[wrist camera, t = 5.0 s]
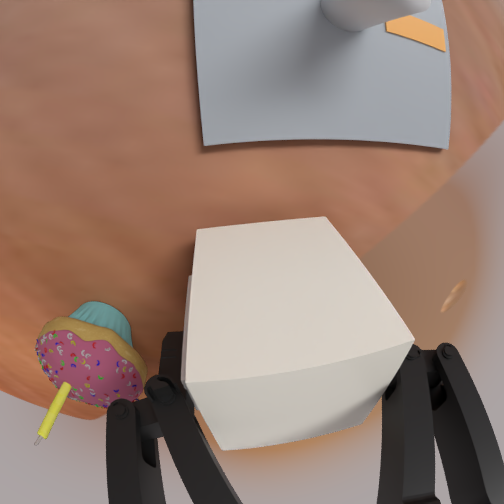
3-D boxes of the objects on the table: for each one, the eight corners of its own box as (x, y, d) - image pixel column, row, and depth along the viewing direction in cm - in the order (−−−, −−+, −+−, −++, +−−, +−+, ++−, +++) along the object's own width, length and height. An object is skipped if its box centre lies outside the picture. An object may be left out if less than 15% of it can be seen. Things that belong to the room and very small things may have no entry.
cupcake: (50, 320, 19) (5, 435, 8) (77, 258, 16) (-2, 410, 6) (129, 366, 22) (111, 483, 12) (175, 321, 20) (162, 479, 9)
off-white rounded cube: (196, 229, 14) (185, 382, 7) (325, 216, 15) (415, 339, 7) (221, 353, 20) (230, 464, 12) (311, 340, 20) (346, 443, 13)
